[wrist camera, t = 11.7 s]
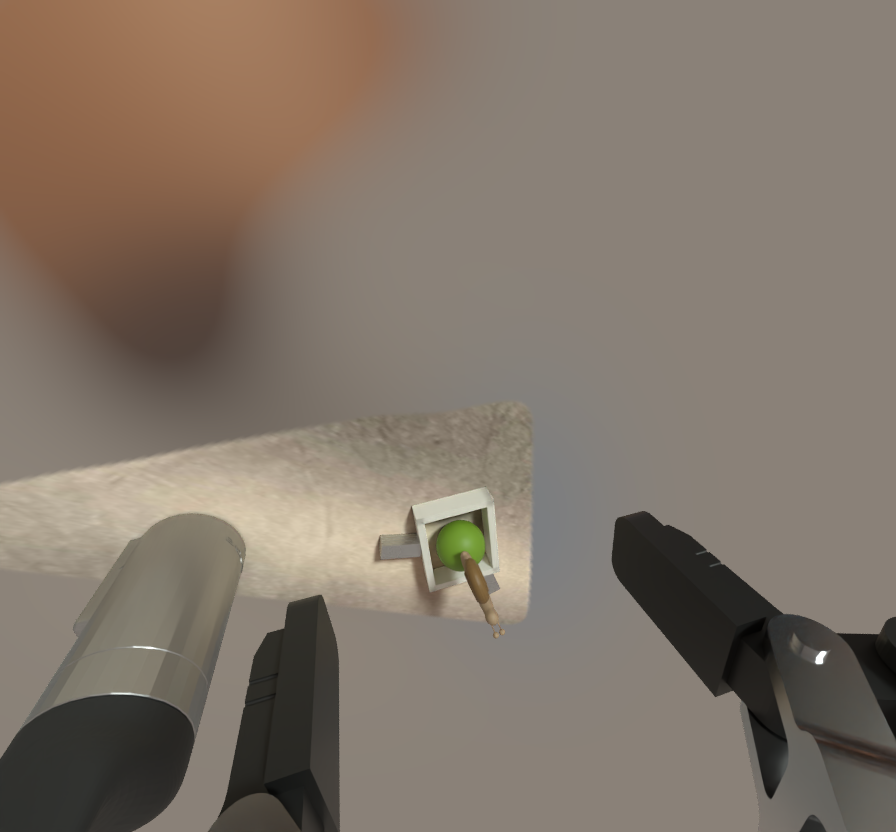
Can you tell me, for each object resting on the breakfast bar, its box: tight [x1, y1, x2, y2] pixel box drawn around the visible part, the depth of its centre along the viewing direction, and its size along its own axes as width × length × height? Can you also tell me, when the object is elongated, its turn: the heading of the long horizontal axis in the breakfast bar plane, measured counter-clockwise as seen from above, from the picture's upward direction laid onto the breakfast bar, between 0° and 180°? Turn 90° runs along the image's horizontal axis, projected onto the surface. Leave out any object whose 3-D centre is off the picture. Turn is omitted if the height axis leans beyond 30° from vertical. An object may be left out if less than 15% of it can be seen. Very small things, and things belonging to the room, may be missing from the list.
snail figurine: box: [436, 520, 505, 638], centre depth 42 cm, size 5×6×12 cm
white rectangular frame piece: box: [379, 487, 500, 594], centre depth 47 cm, size 13×15×2 cm
